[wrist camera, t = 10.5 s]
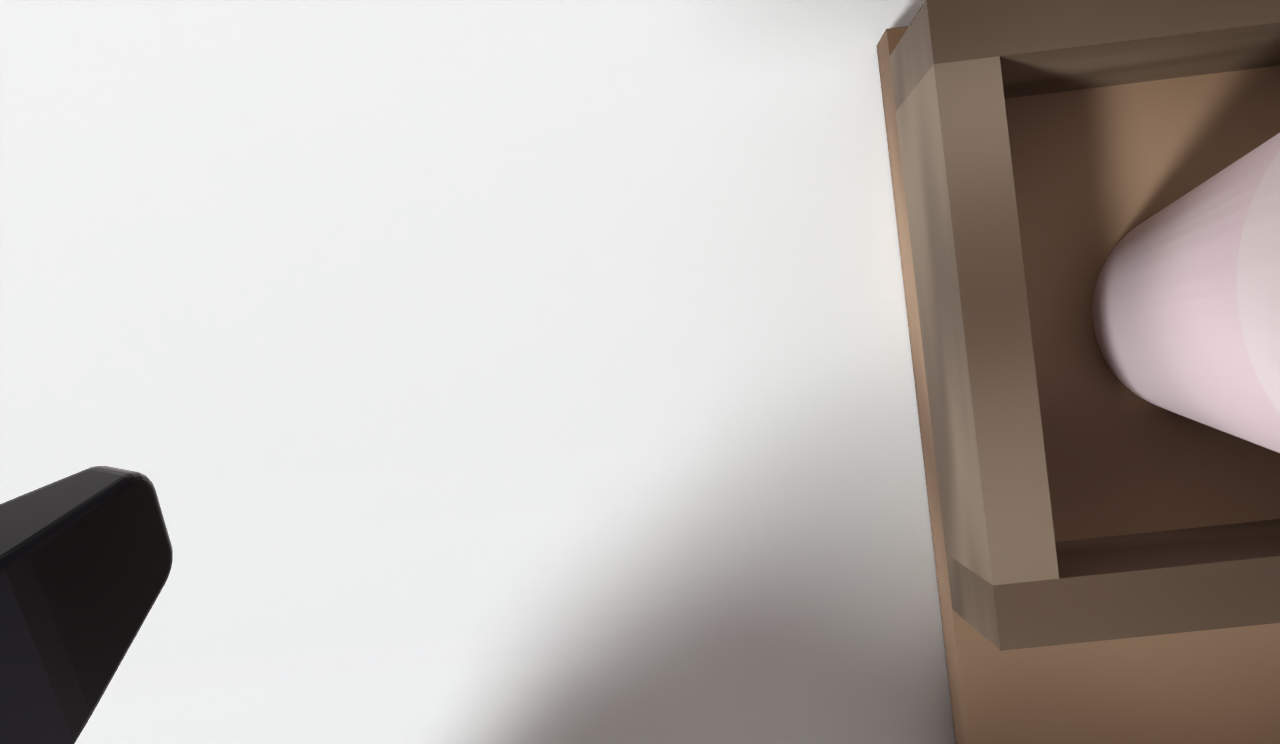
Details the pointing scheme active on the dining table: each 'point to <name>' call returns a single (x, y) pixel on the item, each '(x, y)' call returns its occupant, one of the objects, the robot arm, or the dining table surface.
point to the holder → (1078, 369)
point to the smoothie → (1203, 302)
